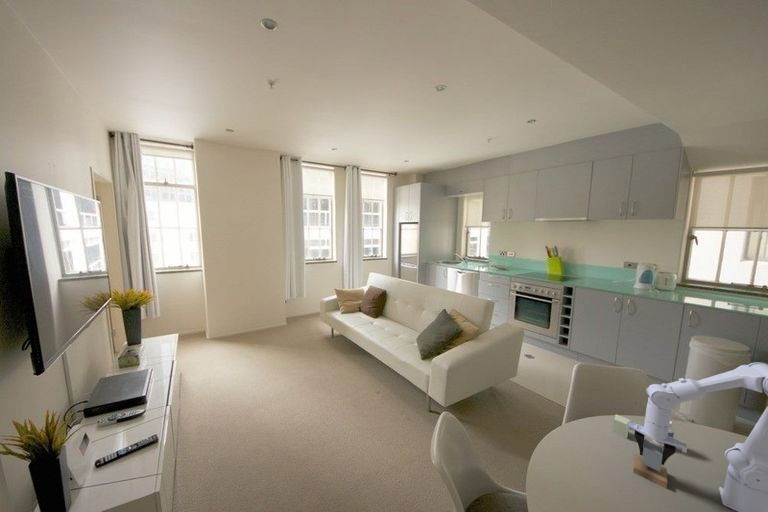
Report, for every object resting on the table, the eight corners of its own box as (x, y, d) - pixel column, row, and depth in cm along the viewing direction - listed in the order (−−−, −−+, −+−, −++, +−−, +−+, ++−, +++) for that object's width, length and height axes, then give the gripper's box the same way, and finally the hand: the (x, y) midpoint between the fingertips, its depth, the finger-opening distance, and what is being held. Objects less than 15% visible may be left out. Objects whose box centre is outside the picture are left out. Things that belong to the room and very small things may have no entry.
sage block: (628, 433, 112) (629, 419, 111) (627, 439, 109) (628, 425, 108) (613, 427, 115) (615, 414, 115) (612, 432, 112) (614, 419, 111)
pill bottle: (675, 450, 104) (679, 426, 103) (659, 447, 105) (662, 424, 104) (664, 439, 109) (667, 416, 108) (648, 436, 110) (651, 414, 109)
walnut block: (665, 474, 94) (666, 467, 94) (666, 489, 88) (667, 482, 88) (634, 459, 100) (635, 453, 99) (632, 473, 94) (633, 467, 94)
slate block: (660, 463, 94) (662, 447, 93) (660, 471, 90) (662, 455, 90) (642, 455, 97) (644, 440, 96) (641, 463, 94) (643, 447, 93)
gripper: (688, 427, 89) (682, 464, 91) (629, 405, 100) (624, 439, 101) (689, 438, 85) (683, 478, 86) (627, 414, 95) (622, 450, 96)
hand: (651, 458), depth 93 cm, fingers closed on slate block, 4 cm apart
